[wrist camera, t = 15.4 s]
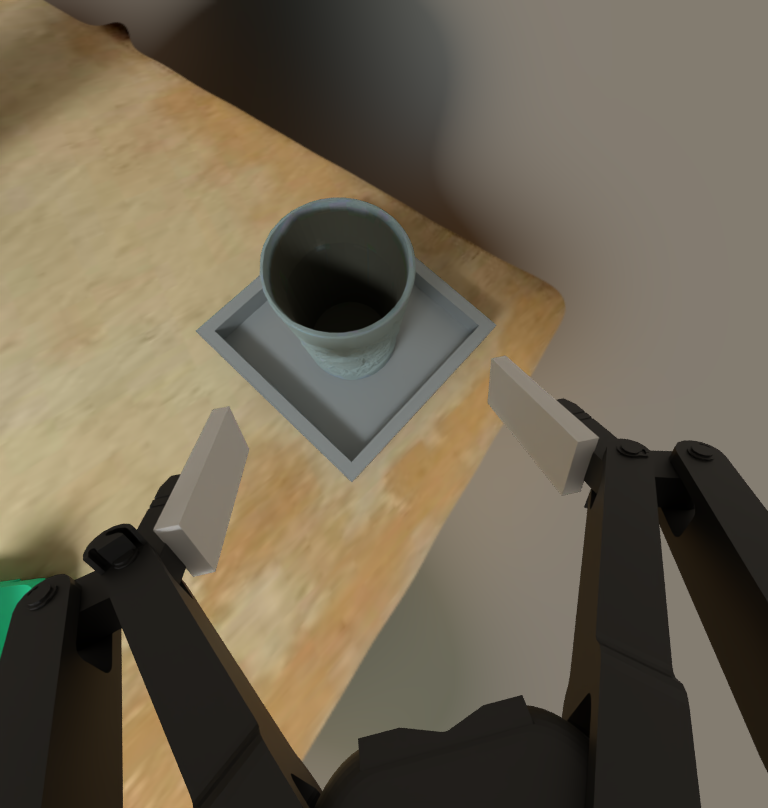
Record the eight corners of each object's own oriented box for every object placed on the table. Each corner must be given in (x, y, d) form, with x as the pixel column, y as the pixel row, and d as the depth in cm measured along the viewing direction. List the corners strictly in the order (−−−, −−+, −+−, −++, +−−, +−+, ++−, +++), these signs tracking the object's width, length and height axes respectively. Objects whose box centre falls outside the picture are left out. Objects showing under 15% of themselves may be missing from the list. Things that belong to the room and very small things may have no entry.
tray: (211, 343, 33) (195, 331, 30) (348, 221, 36) (346, 199, 33) (353, 480, 30) (351, 482, 27) (485, 337, 34) (496, 325, 31)
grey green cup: (352, 407, 31) (339, 370, 19) (278, 340, 32) (222, 264, 20) (421, 335, 32) (449, 260, 21) (348, 273, 34) (335, 168, 22)
